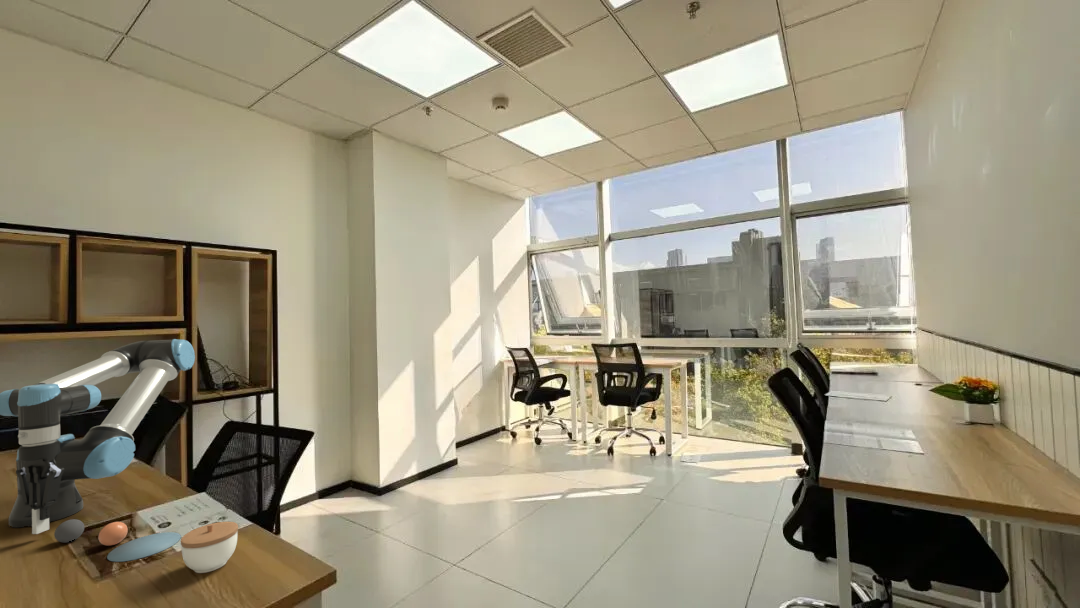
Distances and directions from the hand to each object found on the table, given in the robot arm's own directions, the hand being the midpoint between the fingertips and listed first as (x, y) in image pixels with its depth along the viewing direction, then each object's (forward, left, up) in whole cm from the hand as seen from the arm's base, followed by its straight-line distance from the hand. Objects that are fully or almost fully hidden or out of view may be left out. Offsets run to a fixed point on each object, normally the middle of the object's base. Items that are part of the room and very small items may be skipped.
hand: (40, 531), depth 120 cm
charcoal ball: (+9, +1, +1) cm, 9 cm away
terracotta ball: (+23, +3, +1) cm, 24 cm away
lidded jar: (+59, +1, -2) cm, 59 cm away
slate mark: (+33, +4, -2) cm, 34 cm away
